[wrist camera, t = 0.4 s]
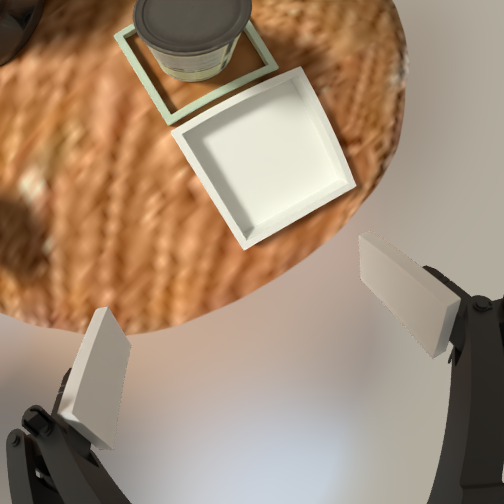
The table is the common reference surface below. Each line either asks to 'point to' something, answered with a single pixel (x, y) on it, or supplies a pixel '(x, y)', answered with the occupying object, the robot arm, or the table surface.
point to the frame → (172, 118)
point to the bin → (266, 156)
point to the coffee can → (191, 34)
